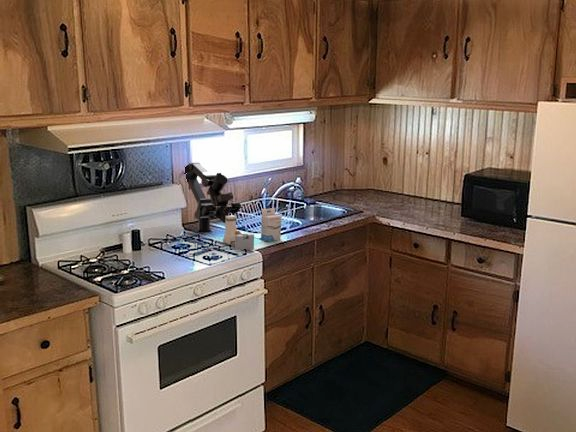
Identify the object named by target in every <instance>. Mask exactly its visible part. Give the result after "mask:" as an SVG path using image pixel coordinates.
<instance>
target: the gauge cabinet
mask: <svg viewBox="0 0 576 432" xmlns="http://www.w3.org/2000/svg"><path fill="white" fill-rule="evenodd" d="M245 234H246V235H247V238H246V239H244V238H243V237H244V236H243V235H235V246H234V250H235V249H237V250H241V251H246V250H247V251H248V250H254V249H255V234H253V233H245ZM244 249H246V250H244ZM237 250H236V251H237Z"/></svg>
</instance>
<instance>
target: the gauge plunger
mask: <svg viewBox="0 0 576 432" xmlns="http://www.w3.org/2000/svg"><path fill="white" fill-rule="evenodd" d="M246 234H247V233H244V232H241V231H240V230H238V229H236V231H235V235H243V236H244V237H243V238H244V239H246V238H247V235H246Z"/></svg>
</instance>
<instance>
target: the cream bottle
mask: <svg viewBox="0 0 576 432" xmlns="http://www.w3.org/2000/svg"><path fill="white" fill-rule="evenodd" d="M224 224H225V226H224V228H225V230H224V231H225V233H224V235H223V238H224V241H223V242H224V243H226V244H228V245H231V241H235V231H236V230H237V216H236V215H232V214H231V215H228V216H225V223H224Z"/></svg>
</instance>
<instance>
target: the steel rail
mask: <svg viewBox="0 0 576 432" xmlns="http://www.w3.org/2000/svg"><path fill="white" fill-rule="evenodd" d="M222 241H223V242H224V237H223V238H222ZM230 245H232V246H233V247H235V241H231V244H230Z"/></svg>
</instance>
